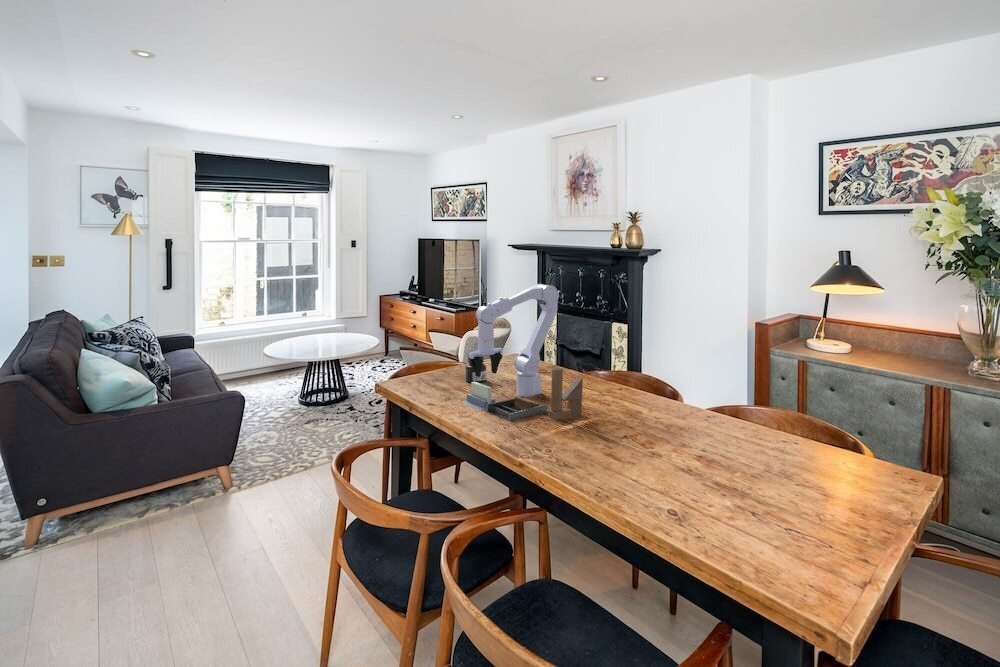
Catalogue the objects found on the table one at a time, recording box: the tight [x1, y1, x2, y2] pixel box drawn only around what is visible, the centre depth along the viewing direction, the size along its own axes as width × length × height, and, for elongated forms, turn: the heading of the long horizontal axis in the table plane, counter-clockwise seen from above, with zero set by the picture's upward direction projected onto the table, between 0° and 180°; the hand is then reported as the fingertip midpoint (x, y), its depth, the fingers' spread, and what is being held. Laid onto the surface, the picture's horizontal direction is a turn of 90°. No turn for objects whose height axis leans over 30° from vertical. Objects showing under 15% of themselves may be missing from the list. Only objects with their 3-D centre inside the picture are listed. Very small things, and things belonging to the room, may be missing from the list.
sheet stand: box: [459, 393, 496, 411], centre depth 194 cm, size 10×12×4 cm
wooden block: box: [548, 367, 584, 421], centre depth 179 cm, size 4×11×18 cm, turn 112°
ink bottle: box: [465, 352, 487, 384], centre depth 227 cm, size 10×9×12 cm
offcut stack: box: [514, 396, 540, 410], centre depth 187 cm, size 4×8×4 cm, turn 39°
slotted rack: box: [485, 396, 549, 423], centre depth 185 cm, size 17×13×4 cm
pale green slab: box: [470, 382, 492, 404], centre depth 193 cm, size 2×10×7 cm, turn 38°
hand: (486, 374), depth 198 cm, fingers open, 7 cm apart
